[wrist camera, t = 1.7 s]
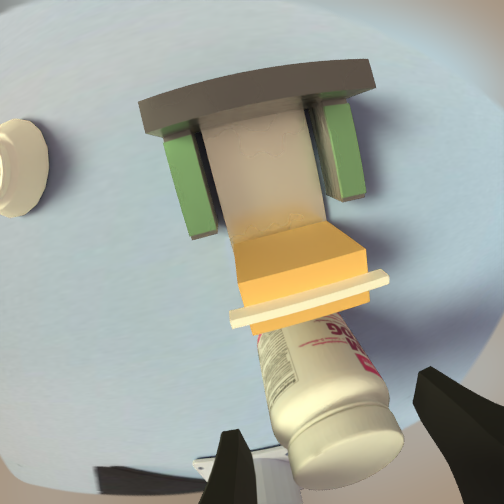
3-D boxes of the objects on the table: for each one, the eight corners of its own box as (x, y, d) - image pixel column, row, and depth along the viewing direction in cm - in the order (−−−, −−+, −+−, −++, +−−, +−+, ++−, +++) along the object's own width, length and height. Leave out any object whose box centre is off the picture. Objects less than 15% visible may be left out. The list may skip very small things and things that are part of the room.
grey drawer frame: (354, 249, 14) (401, 288, 10) (214, 287, 14) (212, 343, 10) (323, 85, 11) (368, 58, 7) (166, 118, 11) (137, 102, 7)
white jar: (27, 232, 12) (69, 152, 11) (-5, 249, 10) (35, 156, 9) (-20, 180, 11) (16, 103, 10) (-53, 189, 8) (-19, 99, 7)
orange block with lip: (342, 258, 13) (389, 305, 9) (234, 287, 13) (239, 349, 9) (336, 218, 13) (387, 251, 8) (221, 247, 13) (221, 296, 8)
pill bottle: (355, 306, 15) (440, 418, 7) (320, 372, 16) (367, 489, 9) (274, 285, 14) (325, 424, 6) (244, 360, 16) (261, 497, 8)
